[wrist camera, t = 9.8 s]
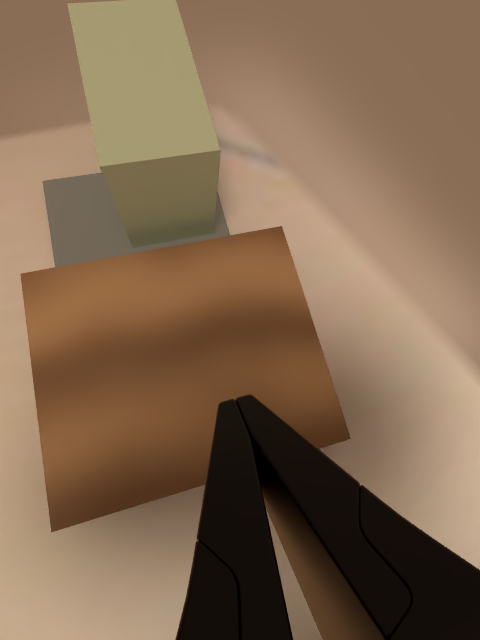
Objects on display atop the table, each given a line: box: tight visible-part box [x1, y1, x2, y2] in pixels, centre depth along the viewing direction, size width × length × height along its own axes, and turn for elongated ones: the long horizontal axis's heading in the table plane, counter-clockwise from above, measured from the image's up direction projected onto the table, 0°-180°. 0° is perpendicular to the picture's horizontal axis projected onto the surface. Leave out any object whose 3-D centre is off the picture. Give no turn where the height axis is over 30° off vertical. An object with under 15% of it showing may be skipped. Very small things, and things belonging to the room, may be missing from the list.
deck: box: [21, 226, 351, 532], centre depth 18 cm, size 12×14×2 cm
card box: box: [68, 0, 220, 248], centre depth 18 cm, size 7×5×9 cm
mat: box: [43, 173, 230, 267], centre depth 21 cm, size 7×10×1 cm, turn 105°
